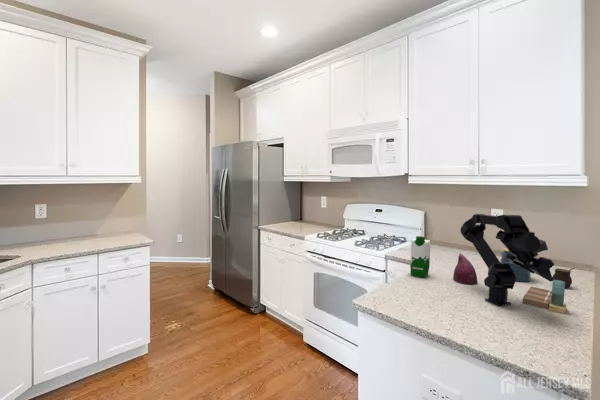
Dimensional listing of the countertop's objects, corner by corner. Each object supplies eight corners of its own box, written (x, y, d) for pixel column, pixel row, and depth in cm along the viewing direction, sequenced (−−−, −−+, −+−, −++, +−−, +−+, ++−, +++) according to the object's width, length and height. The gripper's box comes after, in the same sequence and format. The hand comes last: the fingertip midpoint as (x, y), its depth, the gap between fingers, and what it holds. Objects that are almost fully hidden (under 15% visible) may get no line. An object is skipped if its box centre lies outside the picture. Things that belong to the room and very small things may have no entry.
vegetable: (451, 287, 151) (443, 257, 151) (458, 280, 158) (450, 251, 158) (475, 288, 143) (466, 256, 144) (481, 280, 151) (473, 249, 151)
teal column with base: (564, 314, 115) (566, 285, 114) (548, 310, 118) (550, 282, 117) (566, 309, 120) (568, 280, 119) (550, 305, 123) (552, 278, 122)
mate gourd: (550, 283, 151) (552, 262, 150) (571, 286, 147) (573, 265, 146) (551, 286, 145) (553, 265, 145) (573, 290, 141) (575, 268, 140)
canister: (534, 279, 156) (537, 244, 155) (523, 284, 149) (526, 247, 147) (506, 272, 167) (508, 240, 165) (494, 276, 159) (496, 242, 158)
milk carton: (408, 275, 158) (410, 236, 156) (412, 271, 165) (414, 234, 164) (426, 279, 153) (428, 238, 152) (430, 274, 160) (432, 236, 159)
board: (547, 309, 119) (548, 303, 119) (522, 302, 125) (522, 297, 125) (553, 295, 134) (553, 290, 134) (530, 290, 139) (530, 286, 139)
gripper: (551, 237, 108) (581, 270, 109) (517, 228, 127) (542, 256, 127) (525, 257, 109) (554, 290, 110) (495, 245, 128) (520, 274, 128)
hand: (542, 276), depth 119 cm, fingers open, 9 cm apart
